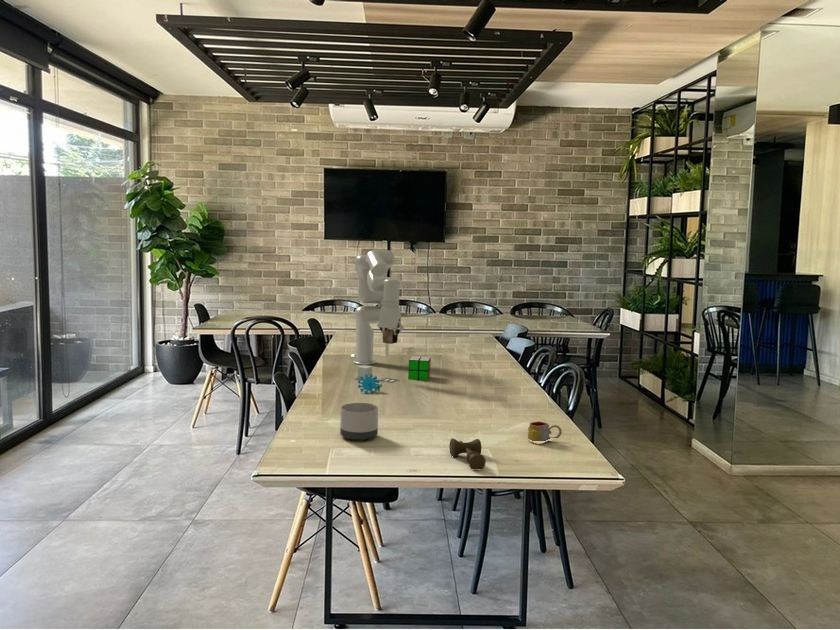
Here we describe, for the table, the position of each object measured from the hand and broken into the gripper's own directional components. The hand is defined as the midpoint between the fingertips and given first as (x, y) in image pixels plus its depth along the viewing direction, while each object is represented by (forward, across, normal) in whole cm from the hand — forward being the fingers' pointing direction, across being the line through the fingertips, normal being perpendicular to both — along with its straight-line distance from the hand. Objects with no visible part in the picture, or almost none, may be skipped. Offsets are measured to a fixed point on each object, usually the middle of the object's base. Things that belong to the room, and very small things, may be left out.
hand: (389, 341), depth 307 cm
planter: (+19, +41, -80) cm, 92 cm away
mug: (+19, +96, -46) cm, 108 cm away
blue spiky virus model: (+20, +6, -24) cm, 32 cm away
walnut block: (+1, 0, 0) cm, 1 cm away
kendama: (+19, +82, -78) cm, 115 cm away
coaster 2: (+19, 0, 0) cm, 19 cm away
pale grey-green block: (+19, -11, -5) cm, 22 cm away
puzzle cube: (+20, +8, +15) cm, 26 cm away
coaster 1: (+19, -11, -5) cm, 23 cm away
